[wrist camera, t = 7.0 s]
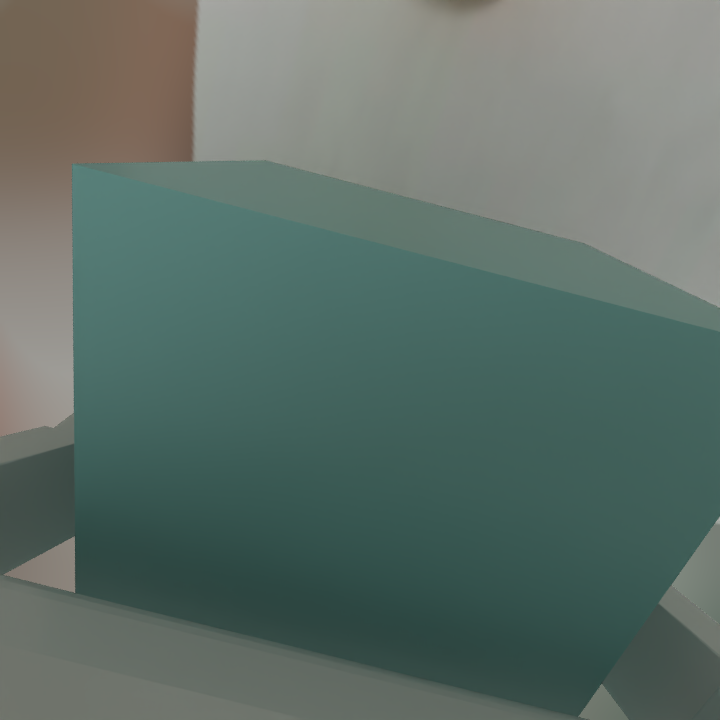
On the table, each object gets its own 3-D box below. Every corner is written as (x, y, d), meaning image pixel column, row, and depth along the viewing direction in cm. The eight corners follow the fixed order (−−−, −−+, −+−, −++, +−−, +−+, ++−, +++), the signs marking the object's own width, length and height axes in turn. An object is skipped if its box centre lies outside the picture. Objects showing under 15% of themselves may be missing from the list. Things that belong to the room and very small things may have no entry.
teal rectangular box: (266, 160, 10) (71, 164, 4) (584, 243, 10) (830, 360, 4) (211, 530, 14) (77, 790, 8) (437, 586, 14) (461, 883, 8)
